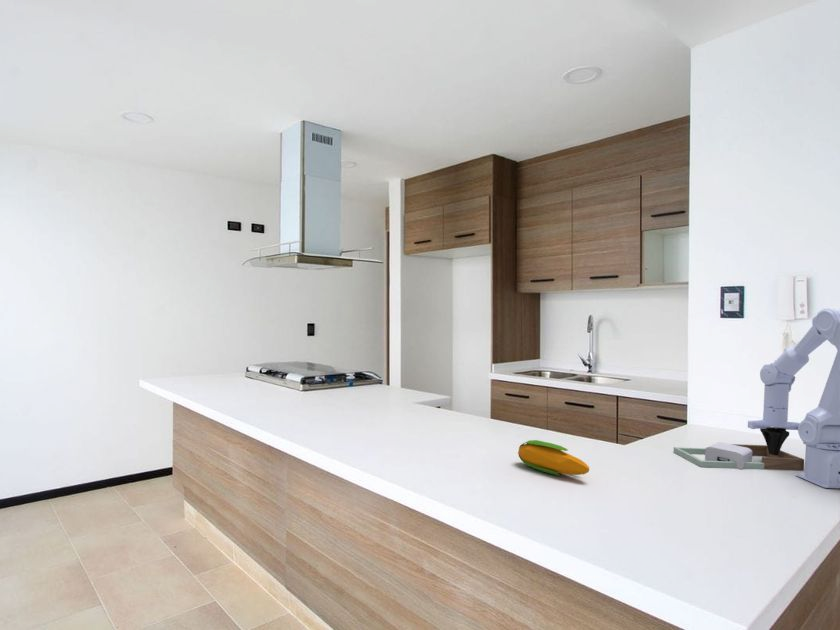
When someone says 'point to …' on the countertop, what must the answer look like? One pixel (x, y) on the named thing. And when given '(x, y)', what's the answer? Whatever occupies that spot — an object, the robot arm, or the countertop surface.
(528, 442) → the corn
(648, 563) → the countertop surface
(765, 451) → the brown wooden u-shaped frame
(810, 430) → the robot arm
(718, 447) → the charger
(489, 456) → the countertop surface
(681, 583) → the countertop surface
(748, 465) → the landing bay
